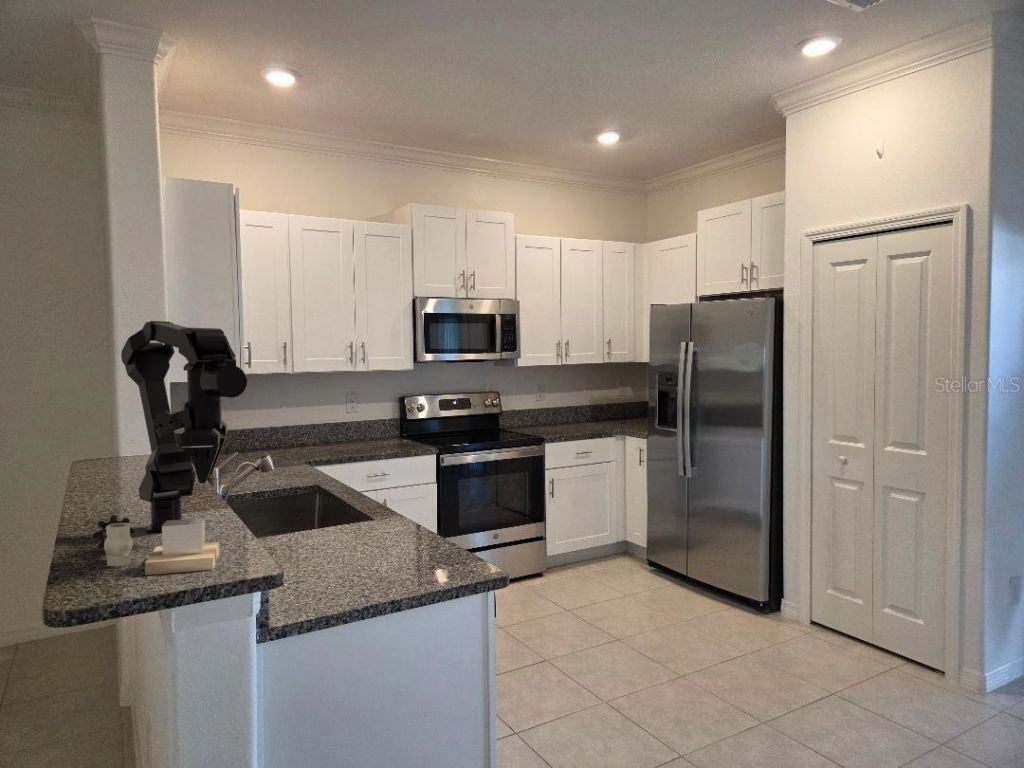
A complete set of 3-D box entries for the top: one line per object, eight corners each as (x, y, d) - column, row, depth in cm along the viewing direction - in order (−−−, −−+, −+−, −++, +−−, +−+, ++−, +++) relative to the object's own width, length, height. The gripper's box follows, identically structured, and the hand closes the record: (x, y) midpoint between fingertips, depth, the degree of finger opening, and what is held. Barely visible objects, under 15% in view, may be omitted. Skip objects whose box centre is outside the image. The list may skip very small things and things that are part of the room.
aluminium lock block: (166, 549, 118) (166, 520, 118) (205, 547, 120) (204, 518, 119) (162, 556, 114) (162, 526, 114) (202, 553, 116) (201, 523, 116)
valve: (142, 564, 117) (134, 547, 127) (141, 525, 117) (133, 511, 126) (96, 570, 113) (92, 553, 123) (95, 530, 113) (91, 516, 123)
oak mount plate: (157, 557, 120) (156, 546, 120) (219, 552, 123) (219, 541, 123) (145, 575, 111) (144, 562, 110) (212, 569, 114) (212, 557, 113)
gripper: (165, 393, 135) (166, 472, 136) (146, 399, 117) (147, 490, 118) (227, 392, 138) (227, 470, 139) (217, 398, 121) (218, 487, 121)
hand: (205, 478), depth 129 cm, fingers open, 9 cm apart
